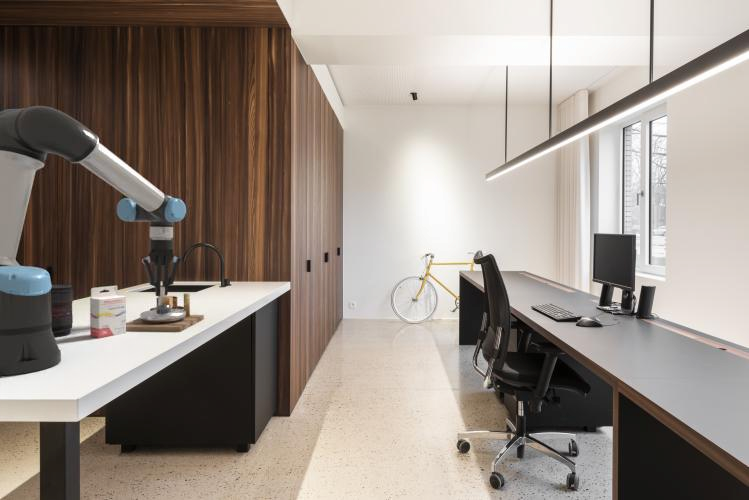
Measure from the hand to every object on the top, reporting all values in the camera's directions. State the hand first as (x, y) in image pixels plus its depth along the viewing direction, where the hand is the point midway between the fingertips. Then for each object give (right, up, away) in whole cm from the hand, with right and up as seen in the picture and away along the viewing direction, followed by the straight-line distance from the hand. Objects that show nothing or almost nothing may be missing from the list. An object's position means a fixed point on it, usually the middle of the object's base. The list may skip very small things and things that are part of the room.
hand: (161, 305), depth 163 cm
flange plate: (+4, -4, -6) cm, 8 cm away
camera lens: (-21, -7, -24) cm, 32 cm away
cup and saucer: (-4, -5, +13) cm, 15 cm away
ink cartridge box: (-6, -7, -23) cm, 24 cm away
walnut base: (+4, -6, -8) cm, 10 cm away
